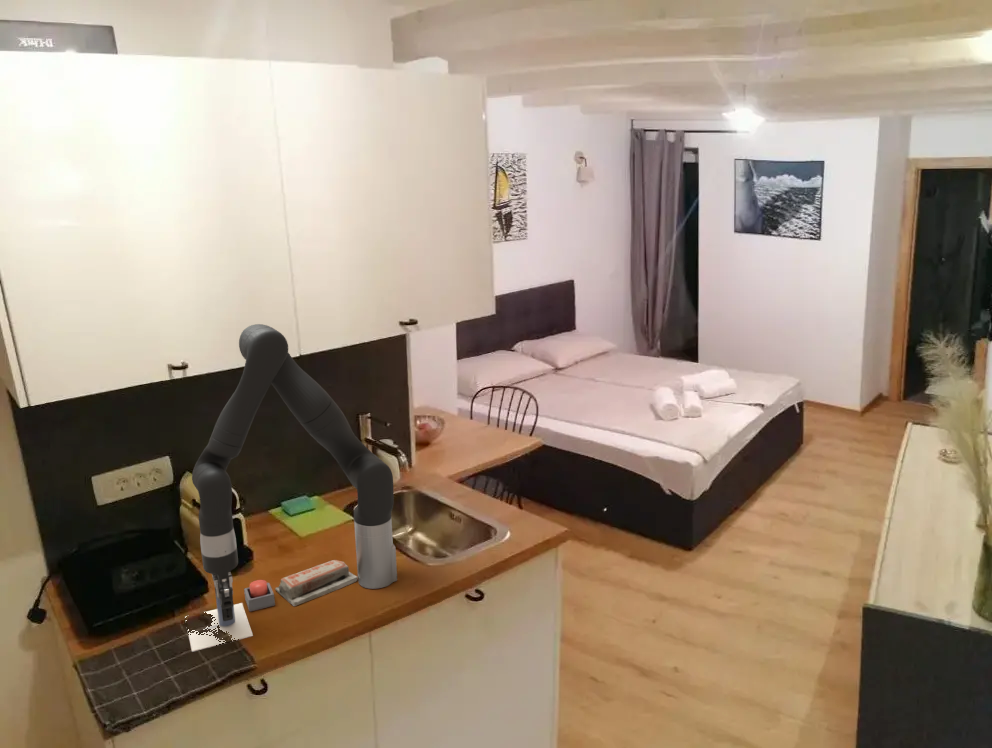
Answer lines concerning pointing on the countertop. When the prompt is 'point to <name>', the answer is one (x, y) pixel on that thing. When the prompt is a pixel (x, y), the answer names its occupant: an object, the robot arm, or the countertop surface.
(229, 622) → the marker
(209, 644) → the drawing pad
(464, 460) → the countertop surface
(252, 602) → the button base
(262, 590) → the button
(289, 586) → the packaged product
